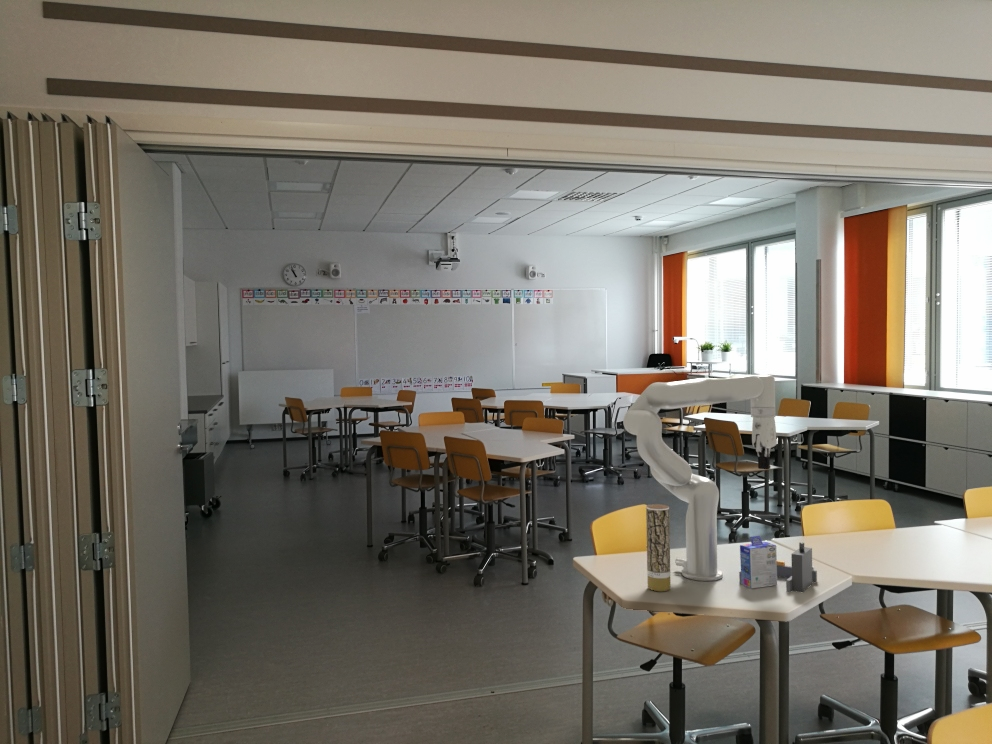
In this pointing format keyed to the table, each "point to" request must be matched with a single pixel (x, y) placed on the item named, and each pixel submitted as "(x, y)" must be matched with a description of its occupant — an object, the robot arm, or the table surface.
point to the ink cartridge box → (758, 564)
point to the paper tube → (658, 547)
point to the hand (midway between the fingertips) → (763, 468)
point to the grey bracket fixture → (797, 570)
